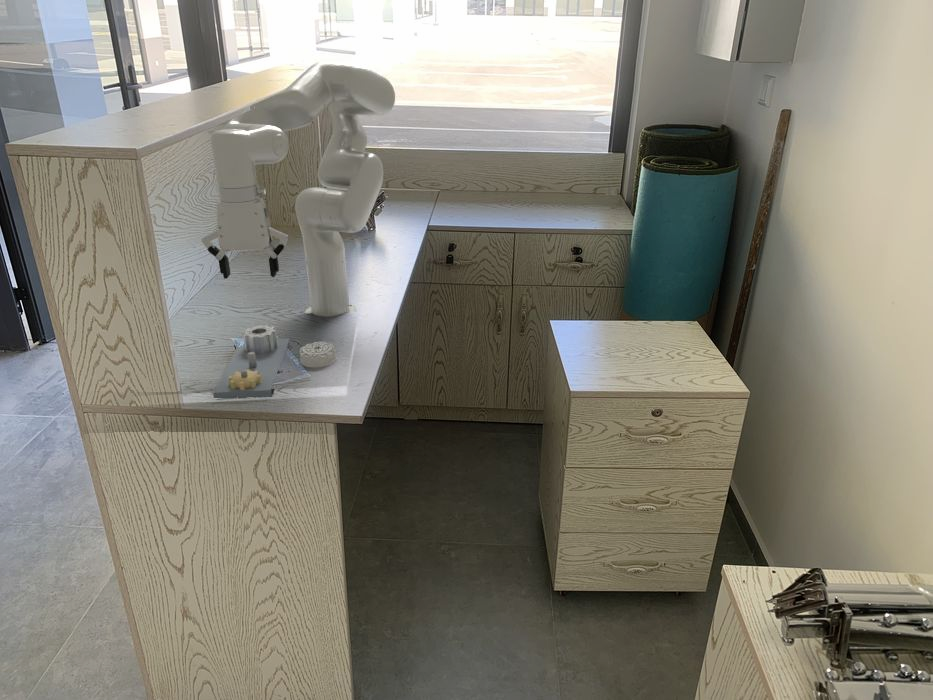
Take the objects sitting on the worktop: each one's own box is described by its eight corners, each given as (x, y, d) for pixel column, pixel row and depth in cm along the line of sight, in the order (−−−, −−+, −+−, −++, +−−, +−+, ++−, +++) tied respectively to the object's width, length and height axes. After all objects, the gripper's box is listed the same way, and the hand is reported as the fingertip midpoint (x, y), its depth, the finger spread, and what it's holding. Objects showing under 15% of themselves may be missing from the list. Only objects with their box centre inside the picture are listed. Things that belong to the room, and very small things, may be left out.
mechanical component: (339, 376, 144) (345, 356, 153) (338, 357, 142) (344, 337, 151) (291, 377, 143) (300, 357, 152) (289, 358, 142) (298, 338, 151)
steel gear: (248, 342, 156) (245, 325, 154) (280, 340, 156) (277, 324, 155) (242, 355, 150) (239, 338, 148) (275, 353, 150) (272, 336, 148)
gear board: (241, 346, 157) (238, 328, 155) (290, 344, 158) (288, 326, 156) (214, 399, 135) (210, 378, 133) (271, 396, 135) (268, 376, 134)
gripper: (285, 189, 143) (294, 269, 150) (199, 191, 142) (213, 271, 149) (279, 197, 136) (289, 280, 143) (189, 199, 135) (203, 283, 142)
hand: (250, 275), depth 146 cm, fingers open, 9 cm apart
